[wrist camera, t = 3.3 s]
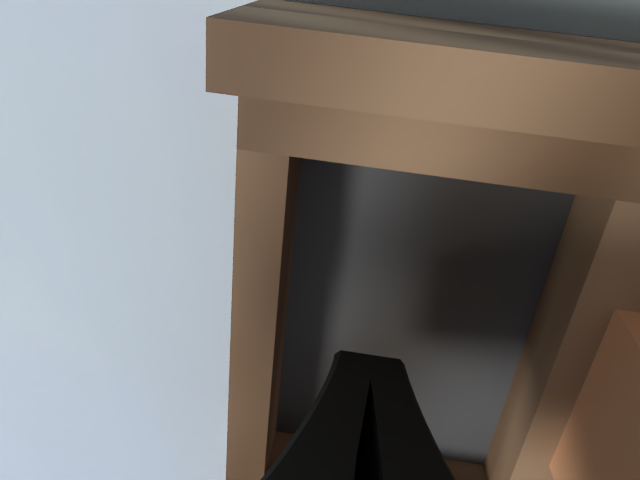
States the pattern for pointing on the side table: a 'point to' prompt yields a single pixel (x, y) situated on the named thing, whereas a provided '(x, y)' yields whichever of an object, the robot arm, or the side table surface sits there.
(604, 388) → the terracotta block
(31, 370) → the side table surface
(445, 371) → the trap lane
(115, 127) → the side table surface
